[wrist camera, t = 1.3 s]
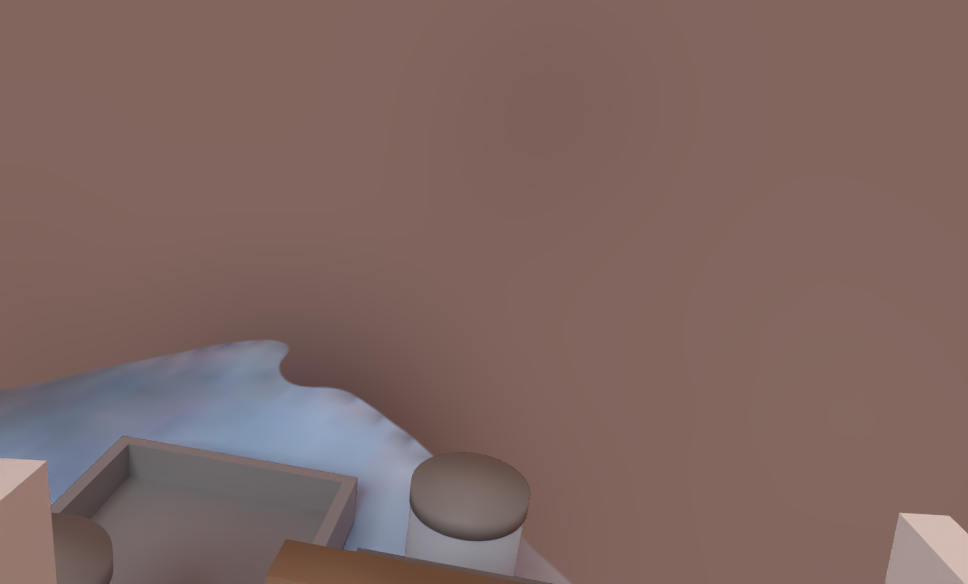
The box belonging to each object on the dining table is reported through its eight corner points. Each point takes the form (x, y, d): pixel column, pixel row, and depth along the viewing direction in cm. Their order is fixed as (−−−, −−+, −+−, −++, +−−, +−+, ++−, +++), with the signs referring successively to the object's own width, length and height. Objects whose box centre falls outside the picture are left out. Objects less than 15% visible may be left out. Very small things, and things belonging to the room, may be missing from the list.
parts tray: (267, 721, 40) (269, 666, 39) (-43, 659, 41) (-50, 604, 40) (354, 521, 55) (357, 477, 54) (124, 479, 56) (122, 435, 55)
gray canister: (367, 673, 44) (386, 483, 39) (437, 616, 48) (461, 439, 44) (452, 739, 41) (482, 540, 36) (518, 671, 45) (552, 487, 41)
